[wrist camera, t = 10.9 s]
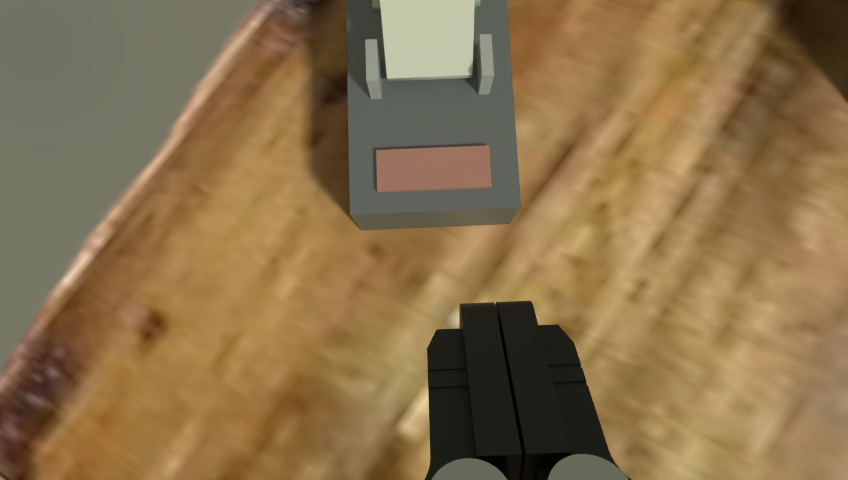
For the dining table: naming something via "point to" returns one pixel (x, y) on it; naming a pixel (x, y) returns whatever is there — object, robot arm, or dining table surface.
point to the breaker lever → (428, 39)
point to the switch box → (431, 132)
